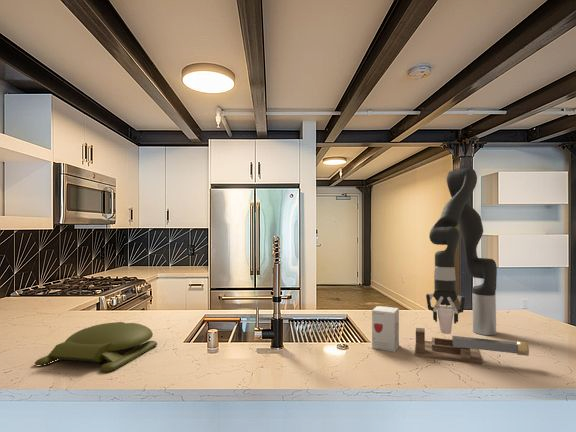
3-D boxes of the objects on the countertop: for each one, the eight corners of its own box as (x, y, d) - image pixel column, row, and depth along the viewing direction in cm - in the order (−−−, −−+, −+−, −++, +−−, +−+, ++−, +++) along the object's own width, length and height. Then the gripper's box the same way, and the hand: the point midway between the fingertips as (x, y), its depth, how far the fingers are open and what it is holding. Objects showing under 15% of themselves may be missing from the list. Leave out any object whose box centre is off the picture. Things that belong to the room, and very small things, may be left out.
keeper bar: (452, 345, 131) (452, 333, 132) (525, 353, 123) (525, 340, 123) (453, 349, 127) (452, 336, 128) (529, 357, 119) (528, 344, 119)
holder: (416, 342, 147) (415, 320, 147) (476, 348, 139) (475, 325, 139) (414, 355, 131) (414, 331, 132) (482, 364, 123) (481, 338, 123)
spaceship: (110, 375, 116) (110, 344, 116) (30, 367, 122) (31, 338, 122) (167, 341, 150) (167, 317, 150) (103, 337, 156) (103, 314, 156)
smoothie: (456, 335, 133) (456, 297, 134) (438, 334, 135) (438, 297, 135) (452, 330, 140) (451, 294, 140) (435, 329, 141) (434, 294, 141)
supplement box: (371, 348, 140) (370, 309, 140) (377, 342, 147) (376, 305, 148) (395, 352, 135) (394, 312, 136) (399, 345, 143) (399, 307, 144)
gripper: (464, 278, 139) (465, 321, 138) (425, 276, 144) (425, 318, 144) (466, 280, 132) (467, 326, 131) (424, 278, 137) (425, 322, 137)
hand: (445, 322), depth 137 cm, fingers closed on smoothie, 6 cm apart
